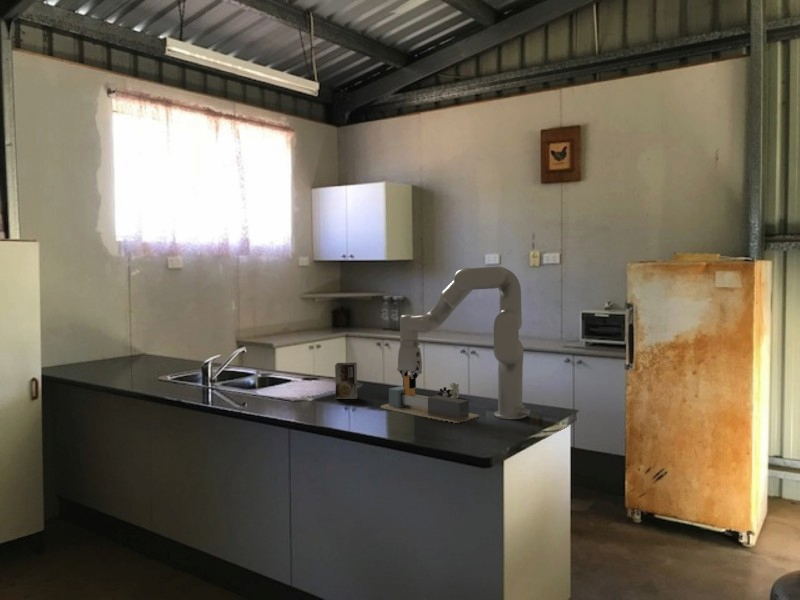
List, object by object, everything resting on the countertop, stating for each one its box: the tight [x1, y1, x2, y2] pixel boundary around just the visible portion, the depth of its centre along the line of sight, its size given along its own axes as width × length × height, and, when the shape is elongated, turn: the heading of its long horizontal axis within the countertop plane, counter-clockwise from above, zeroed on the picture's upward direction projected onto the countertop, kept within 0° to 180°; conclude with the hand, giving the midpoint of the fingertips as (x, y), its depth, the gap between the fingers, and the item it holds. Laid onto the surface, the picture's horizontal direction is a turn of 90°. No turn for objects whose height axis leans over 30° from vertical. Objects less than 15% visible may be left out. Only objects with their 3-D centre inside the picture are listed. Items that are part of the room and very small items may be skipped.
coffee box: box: [334, 362, 358, 400], centre depth 290 cm, size 9×6×16 cm
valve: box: [437, 382, 460, 399], centre depth 288 cm, size 7×7×12 cm
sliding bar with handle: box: [401, 374, 429, 409], centre depth 265 cm, size 23×4×12 cm, turn 47°
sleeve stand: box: [380, 394, 480, 424], centre depth 262 cm, size 41×14×7 cm, turn 47°
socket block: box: [388, 385, 405, 407], centre depth 273 cm, size 6×8×7 cm
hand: (409, 387), depth 269 cm, fingers closed on sliding bar with handle, 3 cm apart
